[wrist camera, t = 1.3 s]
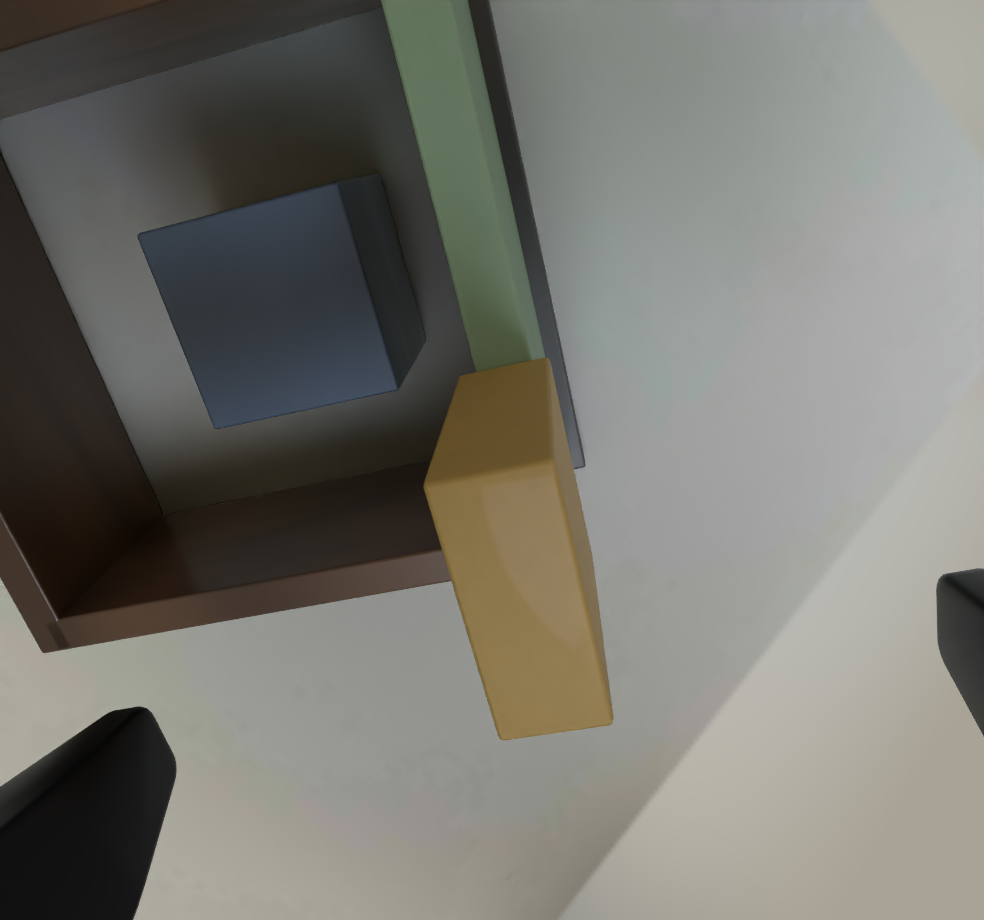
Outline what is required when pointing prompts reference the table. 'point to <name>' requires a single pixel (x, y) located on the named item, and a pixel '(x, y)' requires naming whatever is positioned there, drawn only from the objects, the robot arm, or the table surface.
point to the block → (290, 301)
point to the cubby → (95, 423)
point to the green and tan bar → (499, 411)
